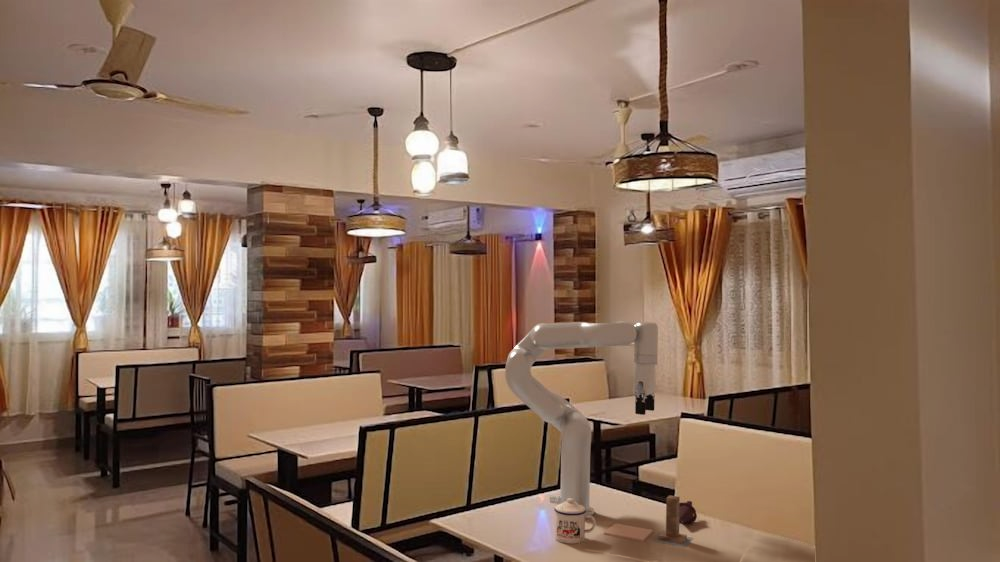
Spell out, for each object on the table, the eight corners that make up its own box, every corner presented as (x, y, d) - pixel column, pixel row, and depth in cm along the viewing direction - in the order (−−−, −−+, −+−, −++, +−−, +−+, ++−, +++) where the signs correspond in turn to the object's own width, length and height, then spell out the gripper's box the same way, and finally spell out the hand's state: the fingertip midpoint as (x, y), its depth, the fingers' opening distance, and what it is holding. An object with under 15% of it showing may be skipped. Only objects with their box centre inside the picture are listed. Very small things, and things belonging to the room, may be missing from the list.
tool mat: (651, 542, 208) (651, 540, 208) (660, 533, 215) (660, 532, 215) (686, 548, 203) (686, 547, 203) (693, 539, 211) (693, 538, 211)
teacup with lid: (552, 542, 206) (552, 501, 206) (556, 532, 215) (557, 493, 215) (594, 546, 203) (594, 505, 203) (596, 536, 212) (597, 496, 212)
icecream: (696, 511, 217) (702, 503, 230) (672, 502, 220) (680, 494, 233) (689, 533, 217) (696, 524, 231) (666, 524, 220) (674, 514, 234)
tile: (614, 528, 221) (603, 537, 213) (615, 523, 221) (603, 532, 213) (653, 535, 216) (643, 544, 207) (653, 530, 216) (643, 539, 207)
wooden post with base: (658, 539, 209) (658, 497, 209) (663, 534, 213) (663, 493, 213) (682, 544, 205) (682, 501, 206) (686, 539, 210) (687, 497, 210)
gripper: (642, 357, 244) (641, 407, 244) (626, 361, 229) (625, 414, 229) (664, 358, 241) (663, 409, 240) (649, 362, 225) (648, 417, 225)
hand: (644, 412), depth 234 cm, fingers open, 9 cm apart
